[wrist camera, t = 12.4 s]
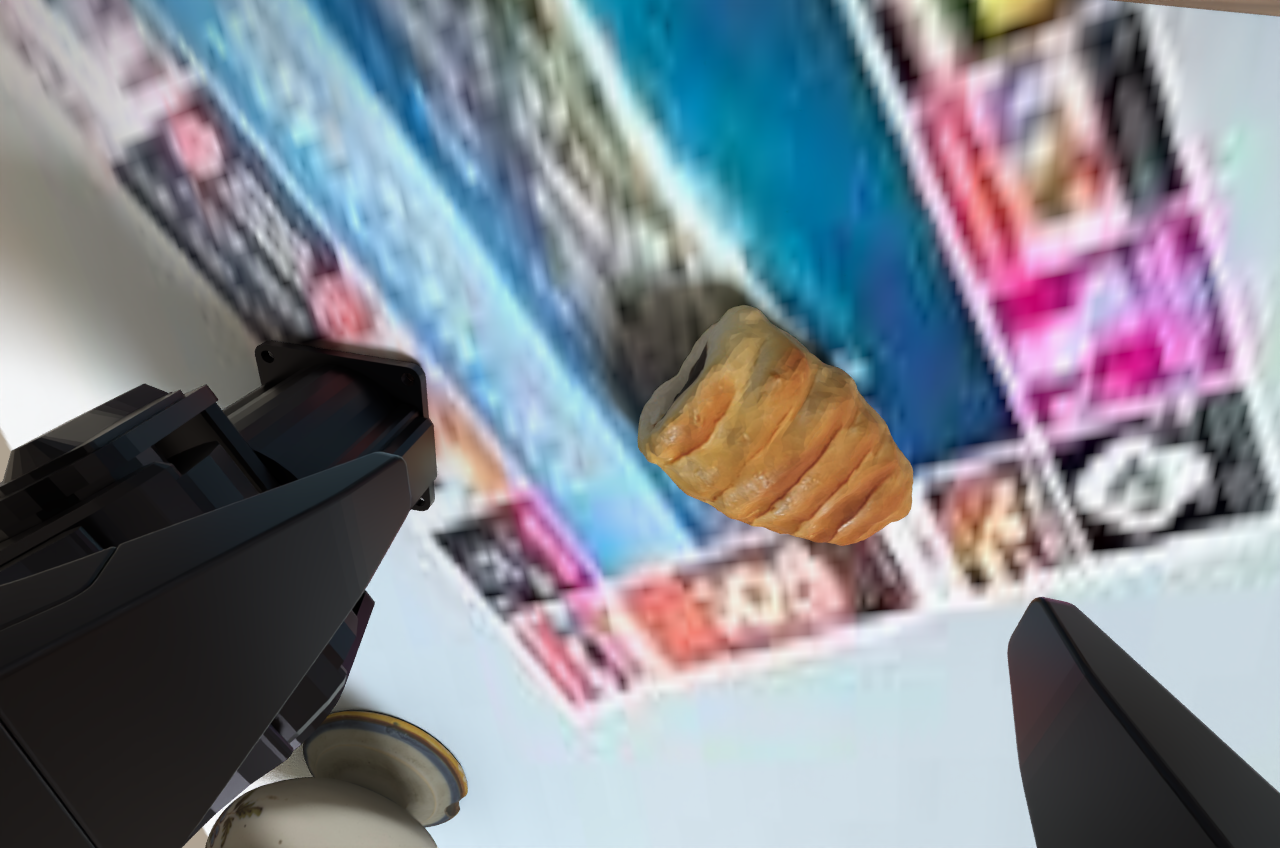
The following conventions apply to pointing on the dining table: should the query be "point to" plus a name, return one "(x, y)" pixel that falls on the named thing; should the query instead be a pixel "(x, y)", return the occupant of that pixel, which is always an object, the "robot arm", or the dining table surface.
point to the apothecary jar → (352, 791)
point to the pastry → (775, 436)
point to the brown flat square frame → (1222, 5)
